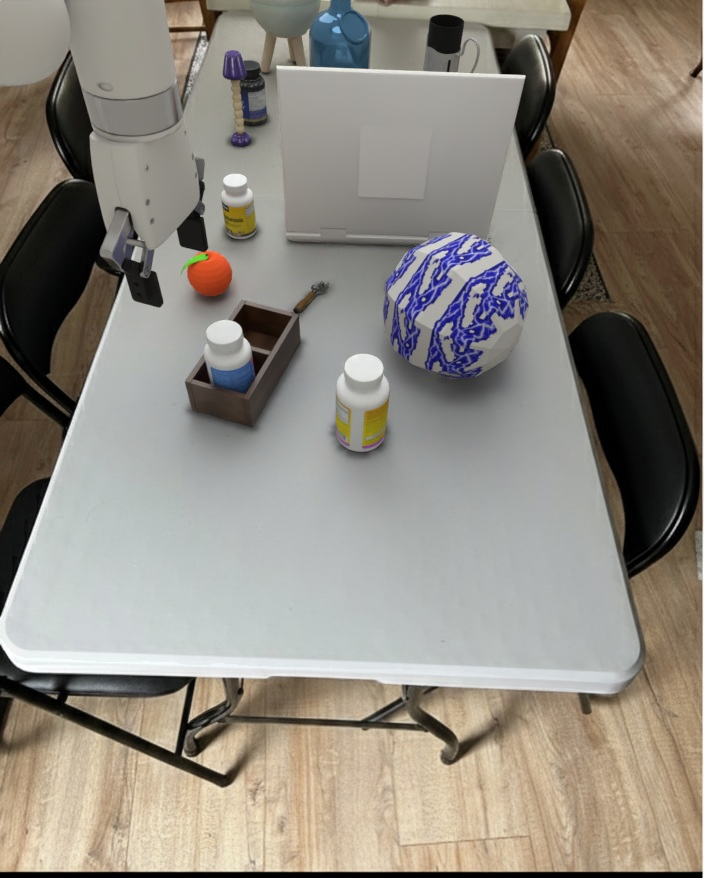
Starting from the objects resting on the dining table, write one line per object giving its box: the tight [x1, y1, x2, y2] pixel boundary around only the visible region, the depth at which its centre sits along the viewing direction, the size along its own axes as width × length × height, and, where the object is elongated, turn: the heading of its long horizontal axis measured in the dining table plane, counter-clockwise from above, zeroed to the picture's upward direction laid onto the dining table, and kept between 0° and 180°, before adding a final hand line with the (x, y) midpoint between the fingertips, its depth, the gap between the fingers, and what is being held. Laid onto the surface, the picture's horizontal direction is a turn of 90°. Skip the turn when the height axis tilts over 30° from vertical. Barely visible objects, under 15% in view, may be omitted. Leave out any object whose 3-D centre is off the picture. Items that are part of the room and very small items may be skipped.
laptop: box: [275, 65, 526, 247], centre depth 105 cm, size 35×26×28 cm
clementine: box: [180, 250, 233, 297], centre depth 97 cm, size 8×7×7 cm
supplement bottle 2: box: [335, 353, 391, 453], centre depth 78 cm, size 7×7×13 cm
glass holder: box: [422, 13, 481, 73], centre depth 138 cm, size 9×14×15 cm, turn 43°
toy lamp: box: [222, 49, 252, 147], centre depth 123 cm, size 5×5×17 cm
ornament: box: [382, 232, 529, 380], centre depth 86 cm, size 20×20×20 cm
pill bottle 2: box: [239, 59, 268, 126], centre depth 131 cm, size 6×6×11 cm
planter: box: [248, 0, 321, 74], centre depth 142 cm, size 16×16×22 cm
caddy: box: [184, 299, 301, 428], centre depth 87 cm, size 9×17×6 cm, turn 161°
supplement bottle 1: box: [220, 173, 257, 240], centre depth 106 cm, size 5×5×10 cm
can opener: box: [292, 280, 330, 314], centre depth 99 cm, size 9×2×1 cm, turn 144°
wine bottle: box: [308, 0, 372, 69], centre depth 129 cm, size 14×13×30 cm
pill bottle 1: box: [203, 319, 255, 394], centre depth 82 cm, size 6×6×11 cm
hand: (172, 274), depth 65 cm, fingers open, 9 cm apart
